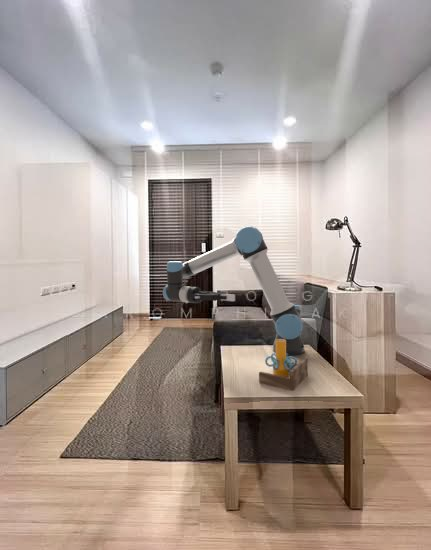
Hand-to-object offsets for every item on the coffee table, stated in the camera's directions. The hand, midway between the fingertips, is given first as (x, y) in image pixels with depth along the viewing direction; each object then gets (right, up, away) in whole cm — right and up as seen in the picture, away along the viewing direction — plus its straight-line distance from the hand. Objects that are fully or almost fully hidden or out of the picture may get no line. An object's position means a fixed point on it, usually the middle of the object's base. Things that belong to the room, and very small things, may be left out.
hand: (234, 297), depth 135 cm
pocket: (+19, -31, -12) cm, 38 cm away
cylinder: (+18, -31, -11) cm, 37 cm away
